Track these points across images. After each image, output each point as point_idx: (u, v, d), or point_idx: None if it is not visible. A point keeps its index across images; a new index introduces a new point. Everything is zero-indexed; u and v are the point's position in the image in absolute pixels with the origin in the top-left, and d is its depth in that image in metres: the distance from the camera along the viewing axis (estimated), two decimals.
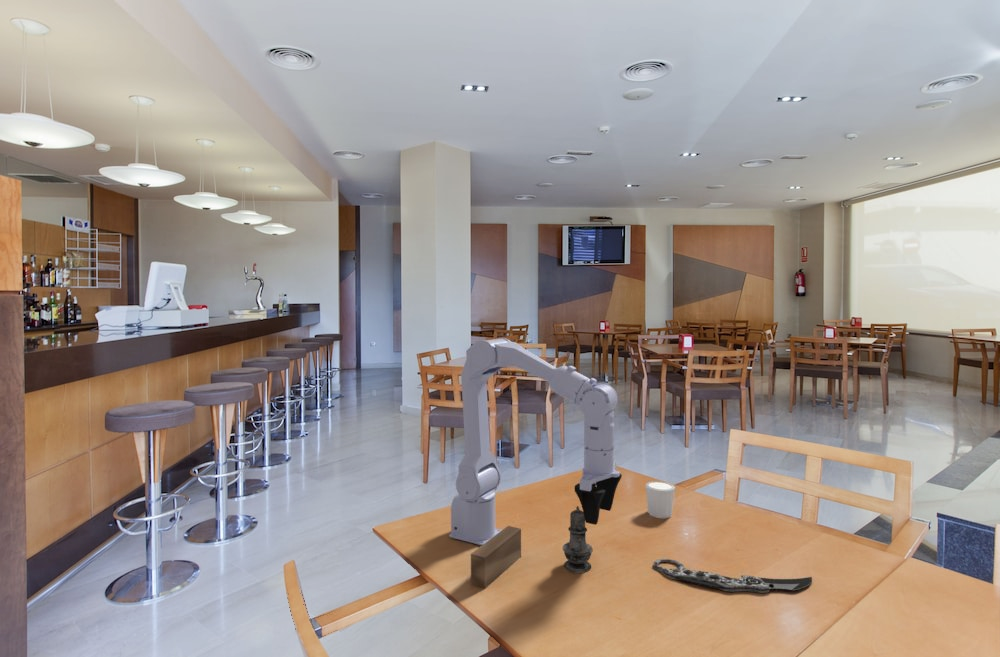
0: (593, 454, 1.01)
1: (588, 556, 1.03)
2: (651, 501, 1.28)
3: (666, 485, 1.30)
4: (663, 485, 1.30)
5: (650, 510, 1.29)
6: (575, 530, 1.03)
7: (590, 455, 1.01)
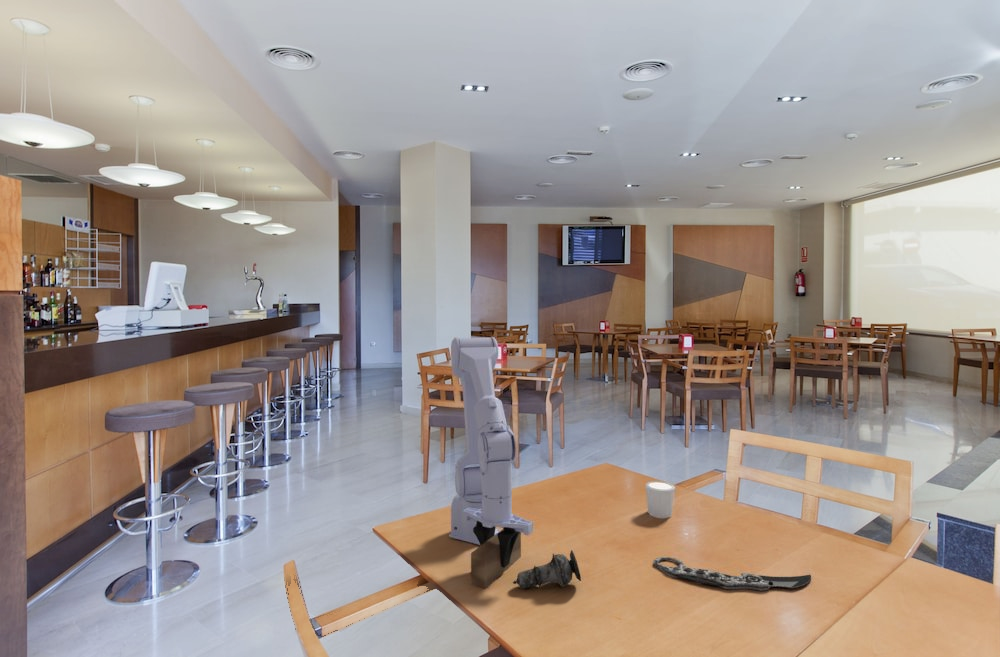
0: None
1: None
2: (651, 501, 1.28)
3: (666, 485, 1.30)
4: (663, 485, 1.30)
5: (650, 510, 1.29)
6: None
7: None
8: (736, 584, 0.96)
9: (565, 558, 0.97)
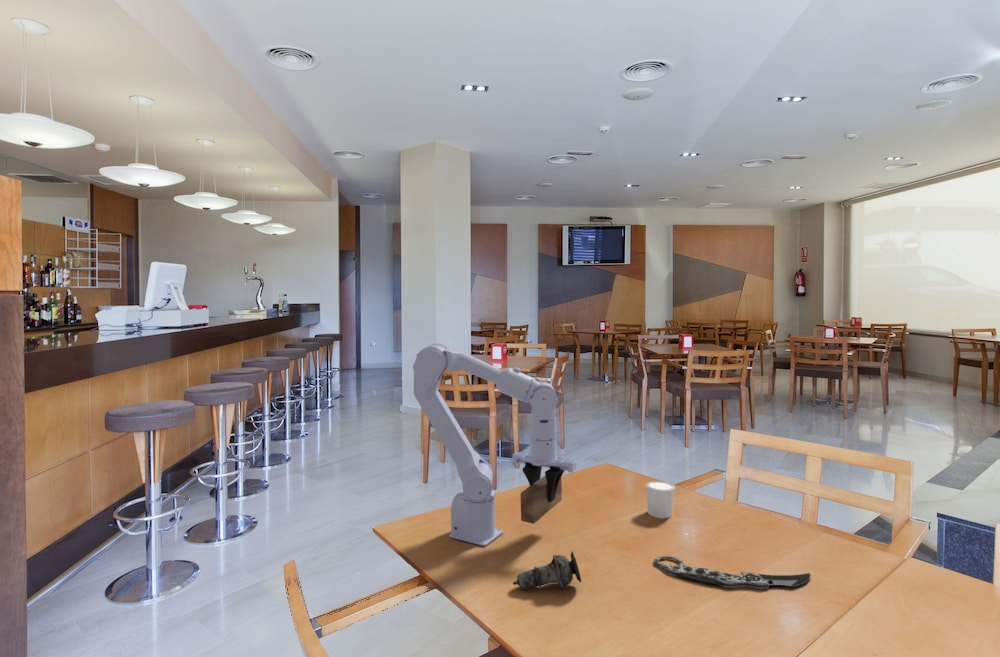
0: None
1: None
2: (651, 501, 1.28)
3: (666, 485, 1.30)
4: (663, 485, 1.30)
5: (650, 510, 1.29)
6: None
7: None
8: (736, 583, 0.96)
9: (566, 560, 0.96)
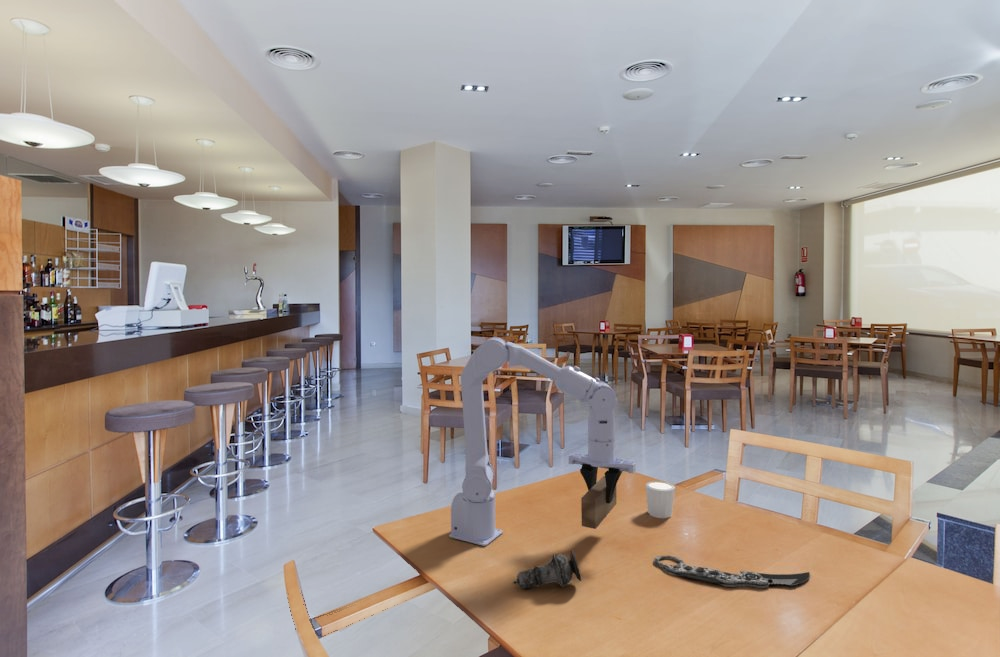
0: None
1: None
2: (651, 501, 1.28)
3: (666, 485, 1.30)
4: (663, 485, 1.30)
5: (650, 510, 1.29)
6: None
7: None
8: (736, 582, 0.96)
9: (565, 558, 0.97)
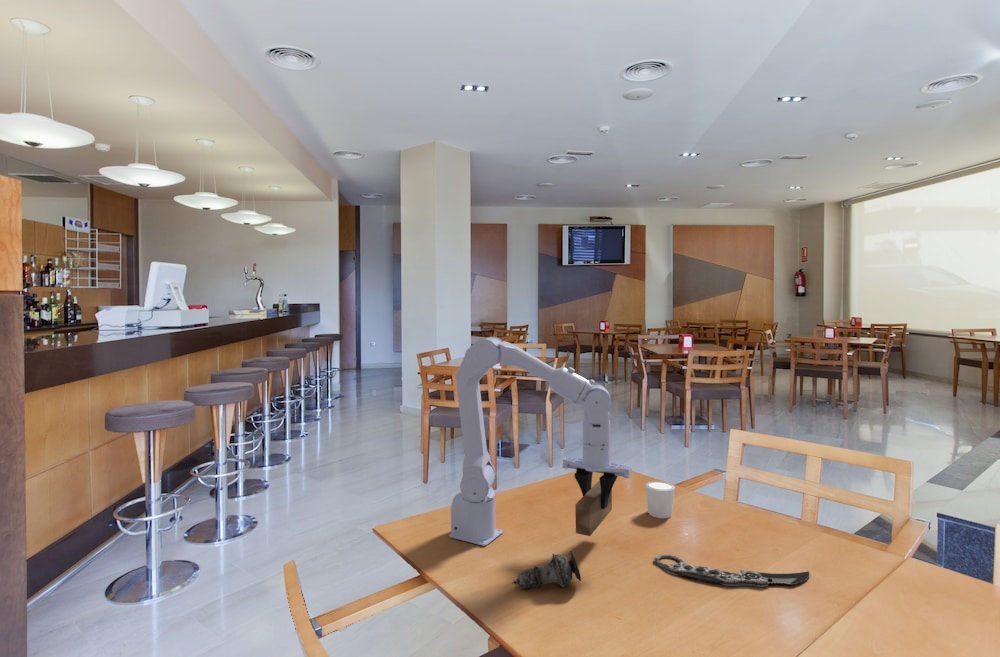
0: None
1: None
2: (651, 501, 1.28)
3: (666, 485, 1.30)
4: (663, 485, 1.30)
5: (650, 510, 1.29)
6: None
7: None
8: (736, 581, 0.97)
9: (565, 558, 0.96)
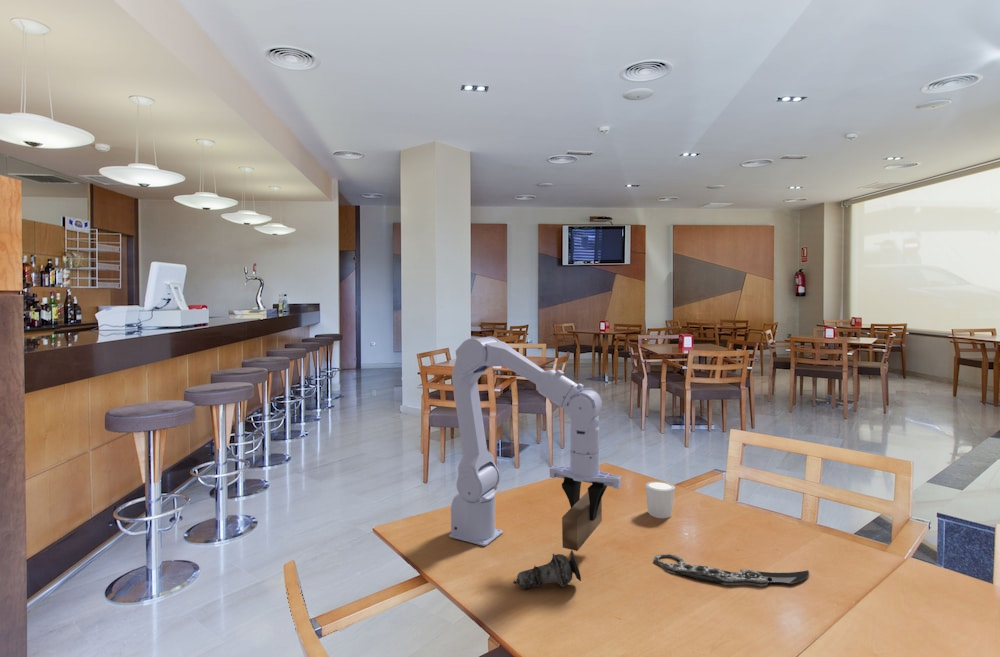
0: None
1: None
2: (651, 501, 1.28)
3: (666, 485, 1.30)
4: (663, 485, 1.30)
5: (650, 510, 1.29)
6: None
7: None
8: (736, 580, 0.97)
9: (565, 558, 0.96)
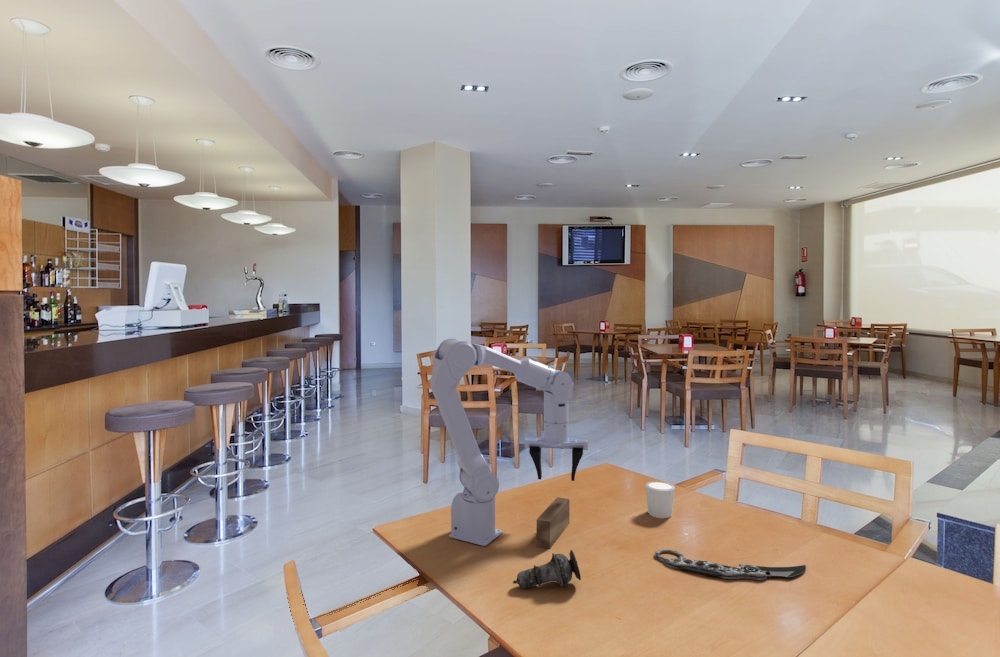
0: None
1: (565, 583, 0.97)
2: (651, 501, 1.28)
3: (666, 485, 1.30)
4: (663, 485, 1.30)
5: (650, 510, 1.29)
6: None
7: None
8: (735, 574, 0.99)
9: (565, 557, 0.97)
